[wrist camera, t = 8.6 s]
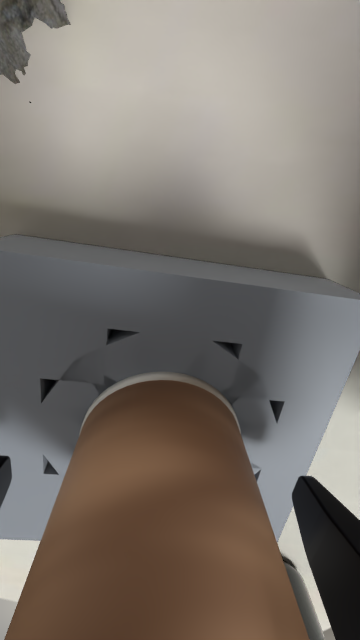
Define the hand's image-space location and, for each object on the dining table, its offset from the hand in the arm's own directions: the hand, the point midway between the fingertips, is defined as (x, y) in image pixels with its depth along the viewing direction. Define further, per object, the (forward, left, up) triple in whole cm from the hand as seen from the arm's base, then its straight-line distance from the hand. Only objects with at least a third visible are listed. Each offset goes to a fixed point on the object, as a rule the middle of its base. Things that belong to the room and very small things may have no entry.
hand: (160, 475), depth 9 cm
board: (0, 0, -4) cm, 4 cm away
